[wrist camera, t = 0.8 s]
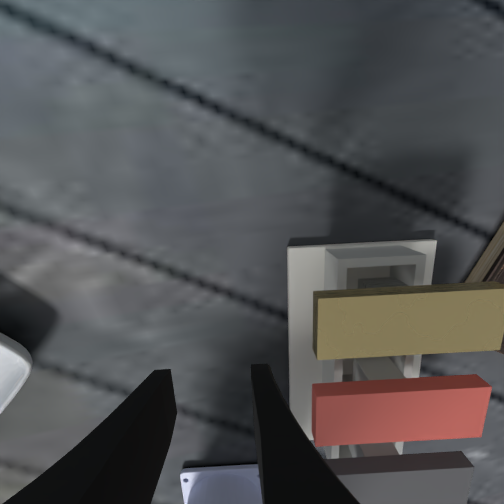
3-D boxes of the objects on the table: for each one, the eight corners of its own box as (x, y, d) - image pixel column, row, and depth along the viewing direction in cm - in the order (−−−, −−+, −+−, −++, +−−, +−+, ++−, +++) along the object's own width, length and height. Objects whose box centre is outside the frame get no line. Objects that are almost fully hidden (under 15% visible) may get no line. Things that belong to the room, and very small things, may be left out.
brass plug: (444, 314, 18) (500, 350, 14) (301, 322, 17) (317, 360, 14) (451, 265, 17) (513, 288, 13) (301, 273, 17) (318, 298, 13)
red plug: (433, 386, 19) (480, 436, 15) (301, 393, 19) (315, 446, 15) (439, 344, 18) (491, 386, 14) (301, 352, 18) (316, 397, 14)
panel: (407, 427, 23) (433, 466, 20) (289, 434, 23) (296, 475, 20) (431, 238, 19) (469, 249, 16) (286, 246, 19) (295, 258, 16)
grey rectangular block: (423, 448, 20) (465, 508, 17) (301, 455, 20) (314, 517, 17) (429, 412, 20) (474, 467, 16) (301, 419, 20) (315, 476, 16)
